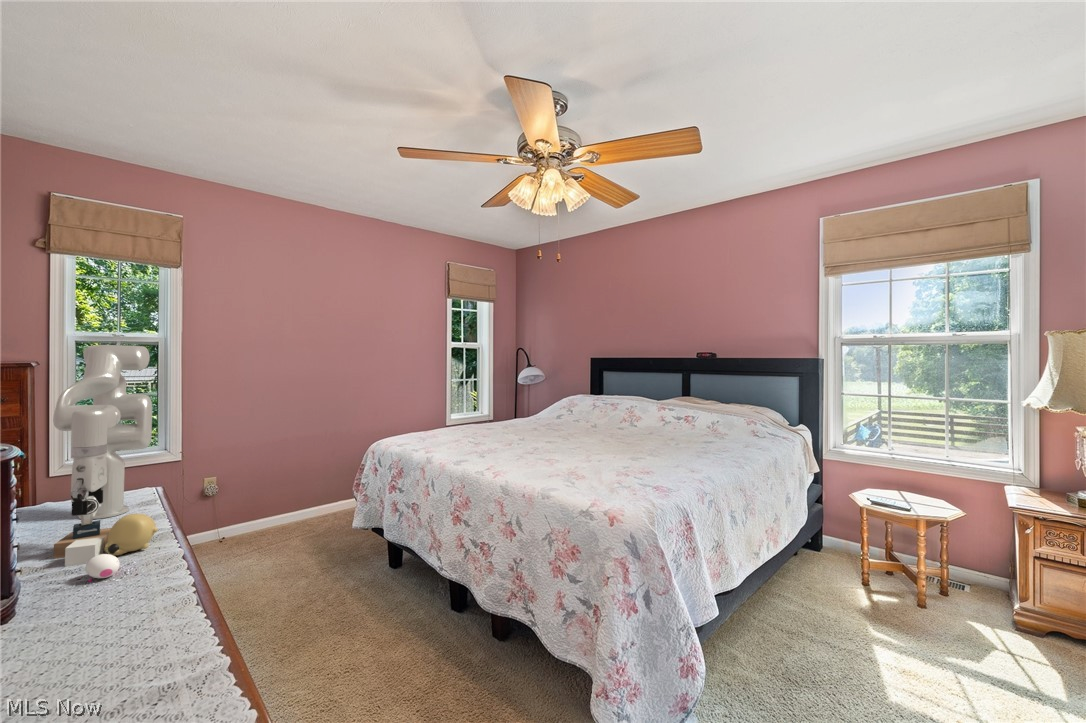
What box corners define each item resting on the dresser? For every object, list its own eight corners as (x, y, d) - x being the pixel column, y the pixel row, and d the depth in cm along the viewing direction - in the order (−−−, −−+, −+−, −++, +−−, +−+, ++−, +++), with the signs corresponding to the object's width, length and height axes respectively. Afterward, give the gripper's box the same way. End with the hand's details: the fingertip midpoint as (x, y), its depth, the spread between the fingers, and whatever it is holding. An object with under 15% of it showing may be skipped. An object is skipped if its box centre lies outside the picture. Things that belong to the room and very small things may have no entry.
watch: (72, 540, 128) (73, 501, 129) (74, 533, 134) (75, 496, 135) (100, 536, 132) (101, 497, 133) (100, 529, 138) (101, 492, 139)
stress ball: (120, 588, 118) (138, 561, 121) (89, 582, 112) (109, 554, 115) (100, 582, 120) (119, 556, 124) (69, 576, 114) (89, 549, 117)
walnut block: (72, 545, 136) (72, 531, 136) (115, 540, 140) (116, 527, 140) (53, 558, 127) (53, 544, 127) (100, 553, 131) (101, 539, 131)
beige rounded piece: (128, 558, 136) (91, 540, 131) (163, 521, 142) (130, 503, 137) (130, 568, 129) (92, 550, 124) (167, 529, 135) (132, 511, 130)
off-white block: (75, 558, 128) (75, 540, 128) (103, 554, 130) (104, 537, 130) (64, 566, 122) (65, 548, 122) (94, 563, 125) (95, 544, 125)
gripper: (92, 457, 127) (90, 518, 128) (118, 444, 143) (117, 498, 143) (55, 458, 124) (54, 521, 124) (86, 445, 140) (85, 500, 140)
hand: (87, 509), depth 134 cm, fingers open, 9 cm apart
